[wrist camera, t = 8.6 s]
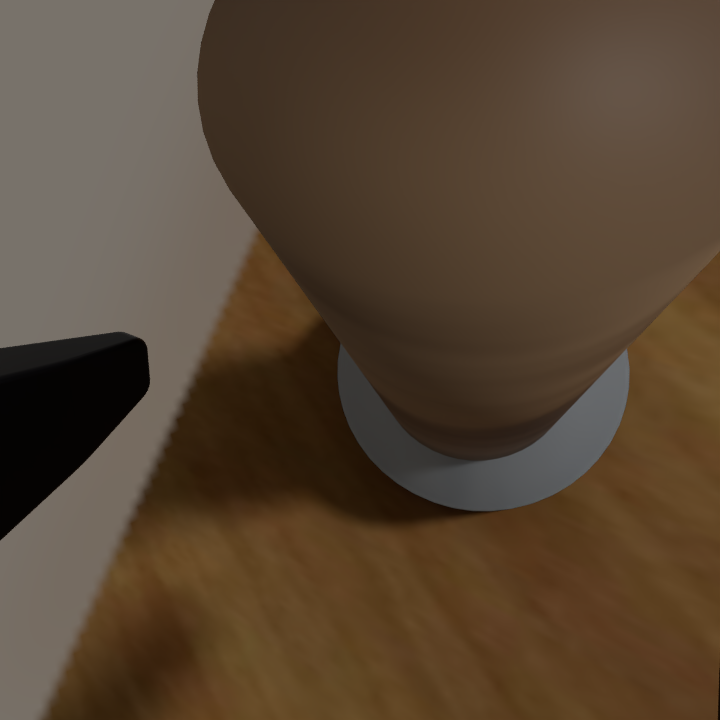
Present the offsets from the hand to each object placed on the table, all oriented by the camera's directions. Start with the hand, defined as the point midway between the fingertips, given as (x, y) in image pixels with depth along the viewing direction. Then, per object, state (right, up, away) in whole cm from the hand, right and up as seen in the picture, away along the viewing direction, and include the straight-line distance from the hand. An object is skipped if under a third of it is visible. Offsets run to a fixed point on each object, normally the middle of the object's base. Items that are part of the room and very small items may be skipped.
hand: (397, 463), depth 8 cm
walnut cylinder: (+3, +1, +9) cm, 10 cm away
